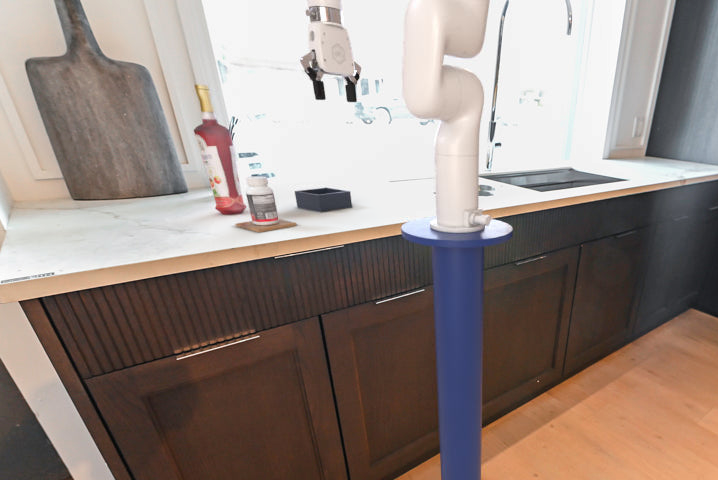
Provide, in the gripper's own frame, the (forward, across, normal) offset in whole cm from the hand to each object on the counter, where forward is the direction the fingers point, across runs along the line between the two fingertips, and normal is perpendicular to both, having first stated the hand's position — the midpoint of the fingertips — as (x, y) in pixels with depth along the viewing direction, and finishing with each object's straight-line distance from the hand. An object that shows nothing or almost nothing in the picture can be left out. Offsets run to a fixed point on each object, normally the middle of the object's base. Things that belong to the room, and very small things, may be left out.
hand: (336, 100), depth 109 cm
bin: (+26, -6, +3) cm, 27 cm away
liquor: (+26, -26, +13) cm, 39 cm away
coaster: (+26, -29, -7) cm, 40 cm away
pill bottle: (+26, -29, -7) cm, 39 cm away
